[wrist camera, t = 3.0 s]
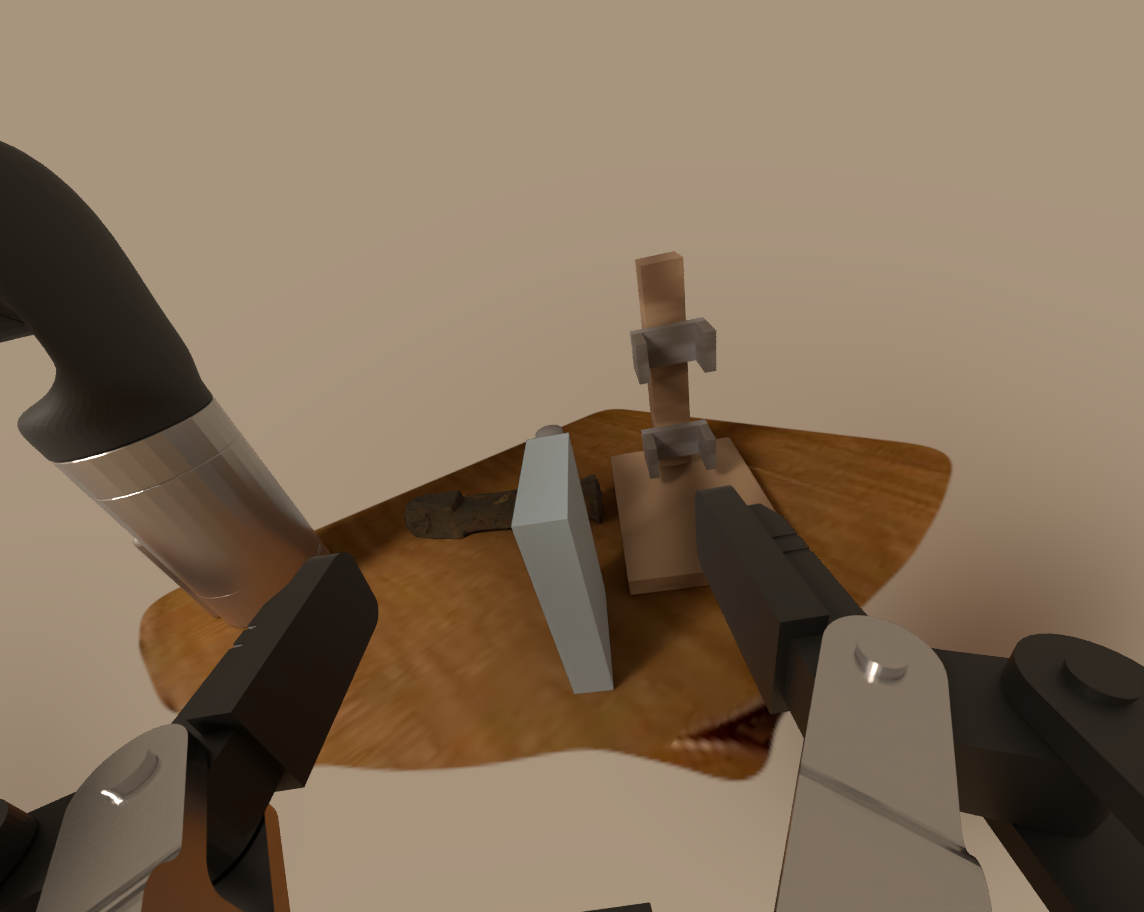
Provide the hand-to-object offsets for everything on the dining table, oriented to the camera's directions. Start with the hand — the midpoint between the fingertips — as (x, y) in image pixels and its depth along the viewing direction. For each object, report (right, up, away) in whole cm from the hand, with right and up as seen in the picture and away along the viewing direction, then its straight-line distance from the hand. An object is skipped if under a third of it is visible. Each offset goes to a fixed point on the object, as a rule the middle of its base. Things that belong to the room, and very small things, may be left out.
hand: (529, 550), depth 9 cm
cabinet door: (+2, -10, +18) cm, 21 cm away
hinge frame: (+11, -2, +26) cm, 29 cm away
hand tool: (-5, -5, +29) cm, 30 cm away
